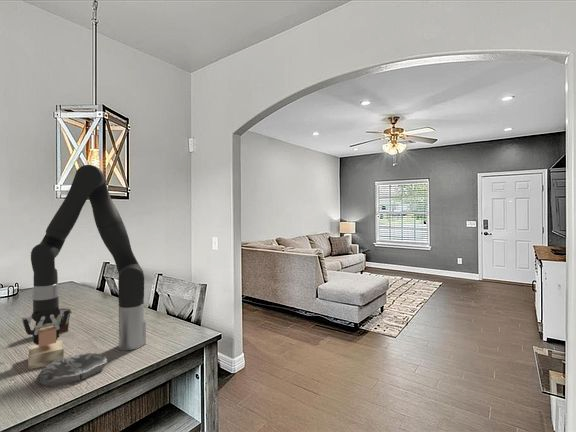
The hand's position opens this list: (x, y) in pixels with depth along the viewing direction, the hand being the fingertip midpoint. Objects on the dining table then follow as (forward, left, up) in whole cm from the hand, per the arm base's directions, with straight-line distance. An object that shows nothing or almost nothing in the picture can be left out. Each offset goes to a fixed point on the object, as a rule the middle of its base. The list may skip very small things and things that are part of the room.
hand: (46, 341), depth 116 cm
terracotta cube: (0, 0, 0) cm, 0 cm away
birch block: (0, 0, -7) cm, 7 cm away
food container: (-8, -27, -7) cm, 29 cm away
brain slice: (-4, +17, -7) cm, 19 cm away
